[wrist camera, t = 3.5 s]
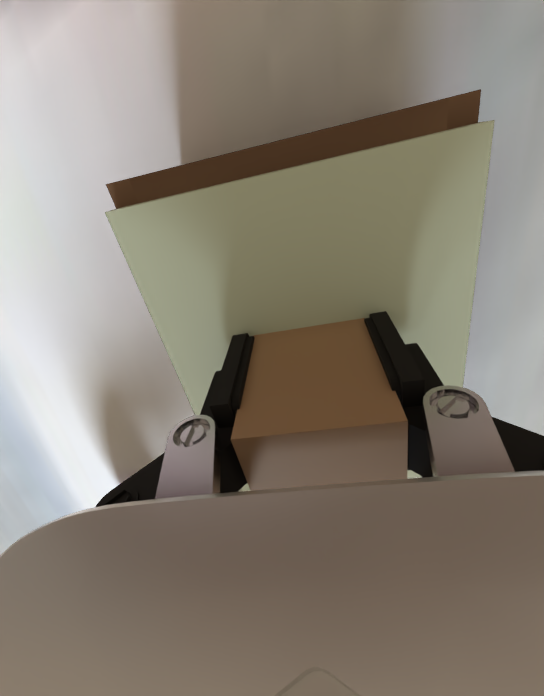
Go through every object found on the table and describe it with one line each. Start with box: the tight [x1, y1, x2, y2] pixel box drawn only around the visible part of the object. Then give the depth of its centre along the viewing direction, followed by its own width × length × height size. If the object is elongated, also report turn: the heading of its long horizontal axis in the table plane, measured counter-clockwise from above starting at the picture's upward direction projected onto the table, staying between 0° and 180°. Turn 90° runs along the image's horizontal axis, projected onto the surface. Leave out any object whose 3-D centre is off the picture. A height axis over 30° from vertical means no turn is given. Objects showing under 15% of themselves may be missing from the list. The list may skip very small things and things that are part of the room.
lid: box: [105, 120, 494, 491], centre depth 11 cm, size 14×11×6 cm
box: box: [106, 90, 481, 209], centre depth 16 cm, size 14×11×8 cm
